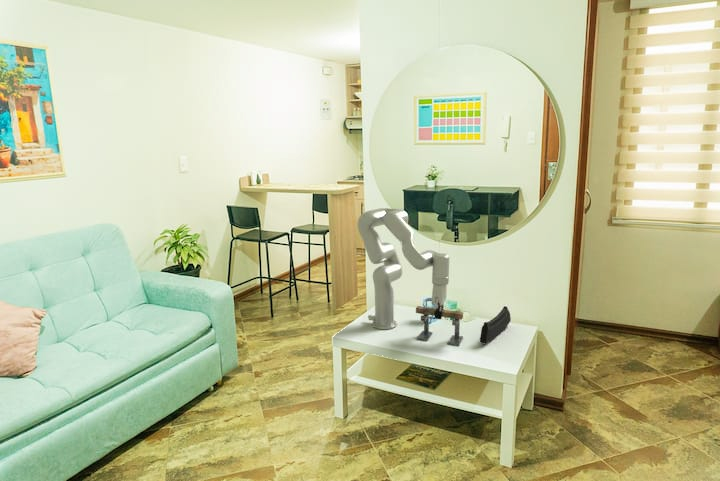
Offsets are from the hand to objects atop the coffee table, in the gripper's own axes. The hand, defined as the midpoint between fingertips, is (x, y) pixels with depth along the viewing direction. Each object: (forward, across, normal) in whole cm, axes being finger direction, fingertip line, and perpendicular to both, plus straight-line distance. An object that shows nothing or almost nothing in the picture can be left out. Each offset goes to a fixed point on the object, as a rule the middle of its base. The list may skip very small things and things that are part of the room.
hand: (439, 317), depth 229 cm
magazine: (+11, -16, +25) cm, 31 cm away
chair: (+12, -22, -10) cm, 27 cm away
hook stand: (+11, 0, +1) cm, 11 cm away
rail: (-2, 0, 0) cm, 2 cm away
